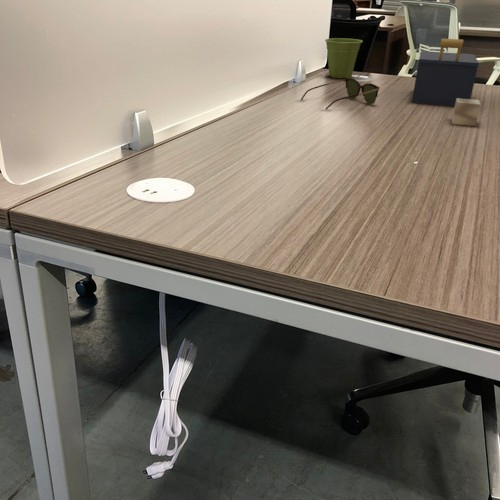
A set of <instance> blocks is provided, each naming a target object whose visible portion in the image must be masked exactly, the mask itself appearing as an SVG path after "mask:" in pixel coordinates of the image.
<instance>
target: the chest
mask: <svg viewBox="0 0 500 500" xmlns="http://www.w3.org/2000/svg"><path fill="white" fill-rule="evenodd" d="M417 63H418V64H417V69H416V75H415V80H414V87H413V92H412V97H411V103H413V104H421V105H423V104H424V105H434V106H445V107H446V106H447V107H455V102H456V98H461V99H472V94H473V90H474V86H475V81H476V77H477V72H478V68H479V65H478V66H466V65H451V64H437V63H422V62H419V61H418V62H417Z"/></svg>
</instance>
